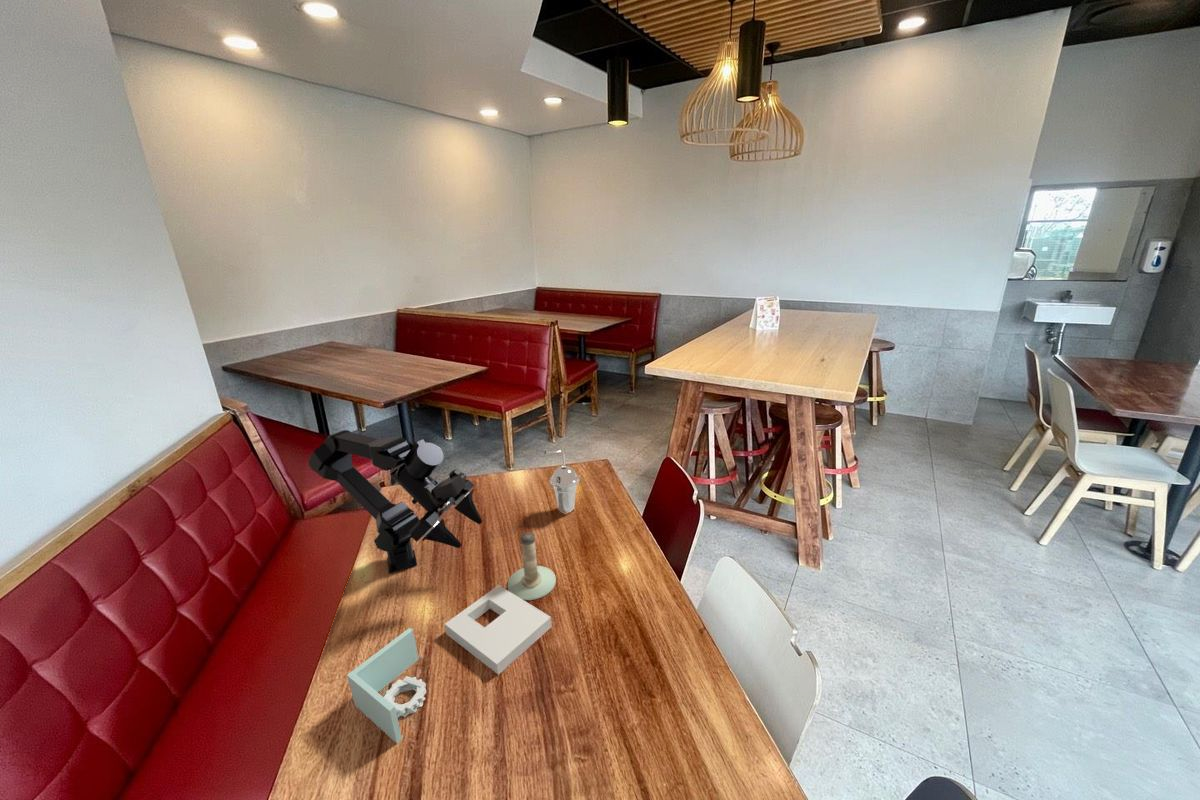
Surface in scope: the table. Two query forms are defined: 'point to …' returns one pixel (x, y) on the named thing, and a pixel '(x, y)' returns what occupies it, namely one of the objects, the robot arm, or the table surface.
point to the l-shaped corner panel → (379, 675)
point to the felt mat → (537, 592)
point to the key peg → (529, 561)
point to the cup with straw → (564, 485)
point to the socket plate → (498, 628)
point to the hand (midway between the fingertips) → (471, 534)
